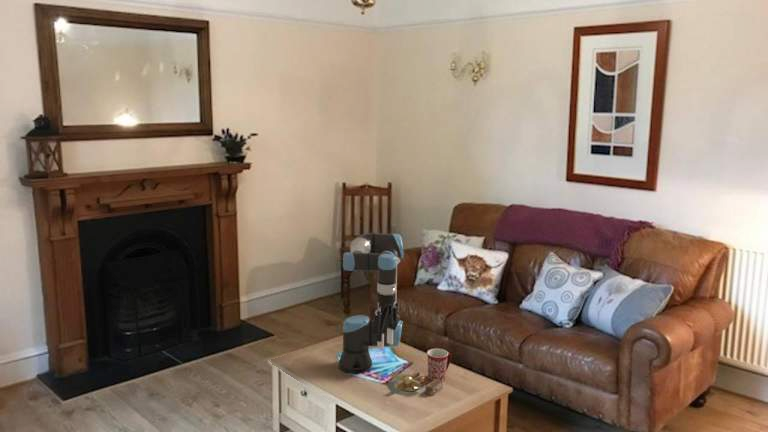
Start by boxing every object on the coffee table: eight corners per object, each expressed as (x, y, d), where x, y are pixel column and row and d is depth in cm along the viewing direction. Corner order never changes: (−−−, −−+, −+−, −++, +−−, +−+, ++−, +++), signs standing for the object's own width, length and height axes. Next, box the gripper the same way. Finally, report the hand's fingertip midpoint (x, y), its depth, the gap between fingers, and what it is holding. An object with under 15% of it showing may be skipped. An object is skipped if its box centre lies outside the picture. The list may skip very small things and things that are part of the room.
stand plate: (380, 390, 268) (380, 387, 268) (402, 377, 280) (402, 374, 280) (411, 402, 258) (411, 399, 258) (433, 388, 271) (433, 385, 270)
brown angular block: (425, 396, 264) (425, 385, 263) (436, 389, 270) (436, 378, 269) (434, 400, 261) (434, 388, 260) (444, 392, 267) (445, 381, 266)
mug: (436, 388, 271) (437, 359, 268) (421, 380, 278) (422, 351, 275) (457, 380, 279) (458, 351, 276) (442, 372, 286) (443, 344, 283)
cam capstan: (380, 387, 268) (380, 372, 266) (402, 374, 280) (403, 359, 279) (412, 399, 258) (412, 384, 256) (433, 385, 270) (434, 370, 269)
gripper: (379, 300, 248) (378, 355, 253) (407, 288, 262) (405, 341, 267) (364, 296, 252) (363, 350, 257) (392, 284, 267) (391, 336, 272)
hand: (385, 345), depth 262 cm, fingers open, 6 cm apart
